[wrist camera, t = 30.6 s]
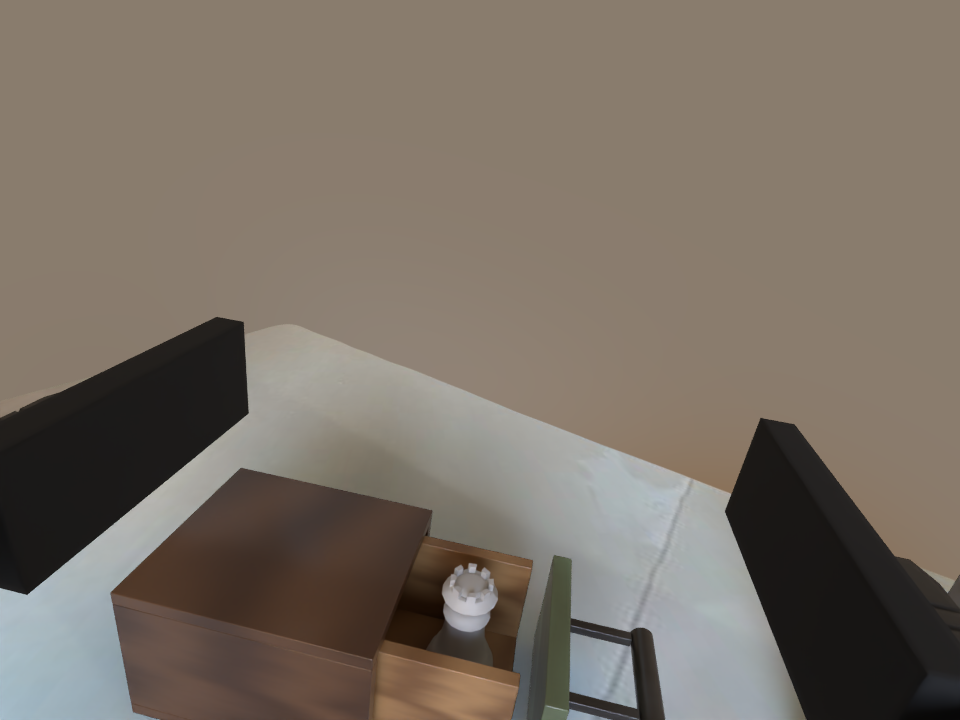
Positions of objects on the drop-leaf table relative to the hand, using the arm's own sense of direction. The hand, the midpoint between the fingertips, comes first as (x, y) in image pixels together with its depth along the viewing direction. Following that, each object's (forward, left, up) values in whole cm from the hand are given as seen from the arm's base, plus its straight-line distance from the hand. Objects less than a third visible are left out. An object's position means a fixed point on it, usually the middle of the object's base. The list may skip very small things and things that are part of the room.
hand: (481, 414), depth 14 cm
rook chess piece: (0, -11, -25) cm, 27 cm away
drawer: (-2, -11, -26) cm, 28 cm away
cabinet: (+11, -11, -27) cm, 31 cm away
